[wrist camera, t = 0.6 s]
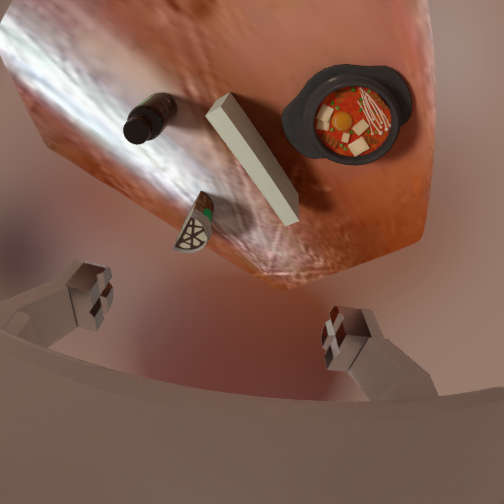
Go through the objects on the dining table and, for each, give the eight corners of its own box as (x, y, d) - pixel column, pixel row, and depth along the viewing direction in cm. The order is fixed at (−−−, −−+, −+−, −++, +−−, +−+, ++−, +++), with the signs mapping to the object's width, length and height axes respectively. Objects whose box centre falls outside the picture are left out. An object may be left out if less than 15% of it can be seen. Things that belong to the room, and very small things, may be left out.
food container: (205, 232, 74) (196, 262, 67) (183, 221, 72) (171, 251, 65) (228, 198, 66) (220, 227, 59) (203, 185, 64) (191, 214, 57)
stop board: (230, 92, 49) (220, 106, 42) (298, 194, 63) (299, 220, 57) (216, 100, 50) (205, 116, 44) (286, 199, 65) (285, 226, 58)
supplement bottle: (146, 90, 49) (117, 111, 40) (179, 93, 49) (155, 115, 41) (144, 121, 54) (118, 147, 45) (176, 125, 54) (154, 152, 46)
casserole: (385, 42, 38) (402, 48, 32) (420, 128, 48) (436, 147, 42) (262, 96, 49) (258, 110, 43) (310, 172, 59) (312, 196, 53)
